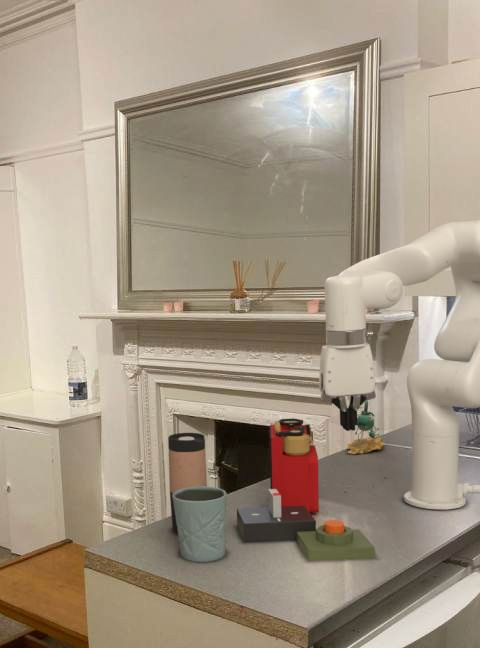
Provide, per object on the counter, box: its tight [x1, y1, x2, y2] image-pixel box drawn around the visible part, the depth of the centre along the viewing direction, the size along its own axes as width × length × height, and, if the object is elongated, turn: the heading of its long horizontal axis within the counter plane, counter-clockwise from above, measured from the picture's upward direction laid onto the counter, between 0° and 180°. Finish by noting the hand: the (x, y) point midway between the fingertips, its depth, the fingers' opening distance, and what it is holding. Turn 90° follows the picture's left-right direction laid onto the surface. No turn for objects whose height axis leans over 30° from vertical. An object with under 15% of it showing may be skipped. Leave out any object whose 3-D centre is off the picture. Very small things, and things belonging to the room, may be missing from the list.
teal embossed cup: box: [172, 486, 228, 563], centre depth 154 cm, size 10×10×12 cm
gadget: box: [236, 506, 317, 544], centre depth 164 cm, size 14×10×4 cm
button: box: [323, 519, 345, 534], centre depth 153 cm, size 4×4×2 cm
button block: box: [296, 524, 376, 562], centre depth 153 cm, size 12×10×4 cm
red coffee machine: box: [267, 417, 320, 514], centre depth 179 cm, size 16×10×20 cm, turn 168°
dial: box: [267, 488, 281, 518], centre depth 164 cm, size 5×2×5 cm, turn 179°
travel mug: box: [167, 432, 208, 535], centre depth 168 cm, size 8×8×20 cm
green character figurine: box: [346, 400, 385, 455], centre depth 229 cm, size 10×18×15 cm, turn 133°
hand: (348, 429), depth 163 cm, fingers closed
